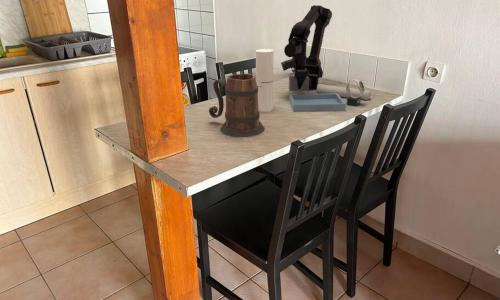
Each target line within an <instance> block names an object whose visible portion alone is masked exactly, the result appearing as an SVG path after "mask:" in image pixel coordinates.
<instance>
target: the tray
mask: <svg viewBox="0 0 500 300" xmlns="http://www.w3.org/2000/svg"><path fill="white" fill-rule="evenodd" d="M288 99H289V100H288V101H289V103H290V106H291V108H292V110H291V111H292V112H293V113H297V112H299V113H300V112H301V113H302V112H307V113H308V112H346V106H347V103H346V102H345V101H344V100H343V99H342V97H340V96H339V95H338V94H317V93H297V94H296V93H293V94H292V93H291V94H290V93H289V98H288Z"/></svg>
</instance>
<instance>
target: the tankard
mask: <svg viewBox="0 0 500 300" xmlns="http://www.w3.org/2000/svg"><path fill="white" fill-rule="evenodd" d="M212 86H213V87H212V88H213V90H214V92H215V95H216V97H217V100H218V107H217V106H215V105H214V106H211V107H209V108H208V113H209V116H210V117H212V118H213V119H217V118H219V117H221V116H222V115H223V112H224V105H225V112H224V119H225V122H224V123H223V124H222V126H221V128H220V129H219V131H220V132H221V134H223V135H224V136H227V137H231V138H251V137H256V136H259V135H260V134H262V133H264V132H265V130H266V128H265V126H264V125H263V124H262V121H260V116H261V115H260V111H259V110H258V86H257V83H256V75H254V74H253V73H237V74H231V75H228V76H227V77H226V82H225V80H223V79H221V78H218V79H217V80H214V82H213V85H212ZM222 93H225V101H224V98H223V97H224V96H223V94H222ZM224 102H225V104H224ZM216 113H217V114H216Z"/></svg>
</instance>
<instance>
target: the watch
mask: <svg viewBox="0 0 500 300" xmlns="http://www.w3.org/2000/svg"><path fill="white" fill-rule="evenodd" d="M351 82H355V83H356V87H357V89H359V91H360V92H361V95H362V94H363V93H364V91H365V90H366V87H365V85H364V82H363V80H360V79H357V78H356V79H351V80H349V81H348V82H347V83H346V85H345V87H346V91H347V94H348V95H349V96H350V97H349V98H346V99H347V100H346V106H350V107H358V106H359V105H360V104H361V97H360V96H361V95H360V96H353V95H351V92H350V89H349V88H350V87H349V84H350V83H351Z"/></svg>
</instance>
